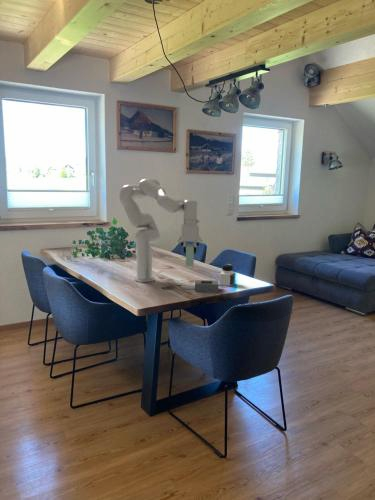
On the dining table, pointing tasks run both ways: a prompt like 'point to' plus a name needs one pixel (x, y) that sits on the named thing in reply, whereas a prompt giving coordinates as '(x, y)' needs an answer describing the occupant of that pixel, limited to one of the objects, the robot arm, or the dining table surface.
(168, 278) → the dining table surface
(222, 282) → the medicine bottle
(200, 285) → the header
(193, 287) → the pad
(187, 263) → the plug
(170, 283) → the dining table surface
